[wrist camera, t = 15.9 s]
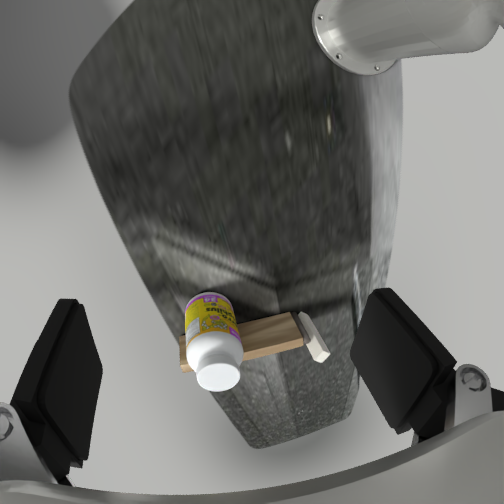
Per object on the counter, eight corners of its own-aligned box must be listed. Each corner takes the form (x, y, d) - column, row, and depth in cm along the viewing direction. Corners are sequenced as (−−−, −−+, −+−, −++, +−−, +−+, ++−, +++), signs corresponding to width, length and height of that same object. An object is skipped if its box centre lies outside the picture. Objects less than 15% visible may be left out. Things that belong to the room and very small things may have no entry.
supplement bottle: (241, 304, 42) (262, 371, 31) (213, 335, 44) (224, 403, 32) (203, 281, 40) (212, 347, 28) (175, 314, 41) (176, 384, 30)
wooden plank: (179, 335, 42) (180, 366, 37) (296, 309, 45) (310, 336, 39) (182, 343, 43) (183, 373, 38) (296, 317, 45) (311, 343, 40)
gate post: (300, 311, 45) (323, 350, 37) (307, 314, 46) (330, 353, 38) (293, 319, 46) (314, 360, 38) (300, 323, 46) (321, 362, 38)
